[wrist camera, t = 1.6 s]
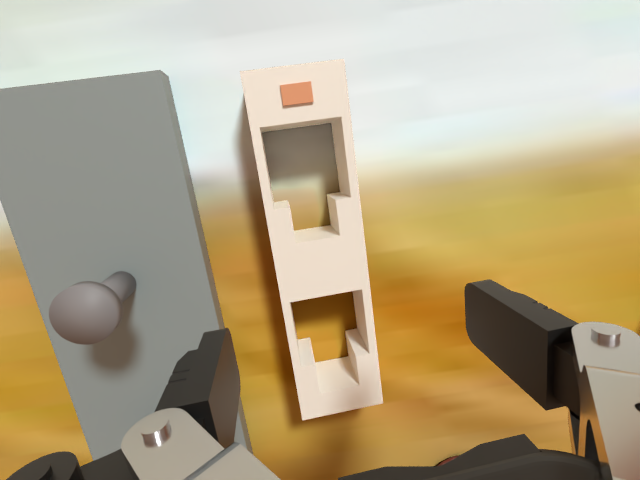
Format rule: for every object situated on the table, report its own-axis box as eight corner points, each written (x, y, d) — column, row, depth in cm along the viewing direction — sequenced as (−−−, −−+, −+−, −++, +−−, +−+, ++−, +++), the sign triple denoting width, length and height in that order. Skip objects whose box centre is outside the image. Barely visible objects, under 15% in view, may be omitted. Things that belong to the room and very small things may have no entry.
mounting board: (168, 76, 21) (125, 43, 15) (255, 465, 27) (250, 549, 21) (-15, 98, 20) (-138, 72, 14) (121, 495, 26) (77, 591, 20)
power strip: (333, 74, 22) (344, 58, 18) (369, 372, 27) (383, 404, 23) (245, 85, 21) (239, 70, 18) (298, 386, 26) (302, 421, 23)
